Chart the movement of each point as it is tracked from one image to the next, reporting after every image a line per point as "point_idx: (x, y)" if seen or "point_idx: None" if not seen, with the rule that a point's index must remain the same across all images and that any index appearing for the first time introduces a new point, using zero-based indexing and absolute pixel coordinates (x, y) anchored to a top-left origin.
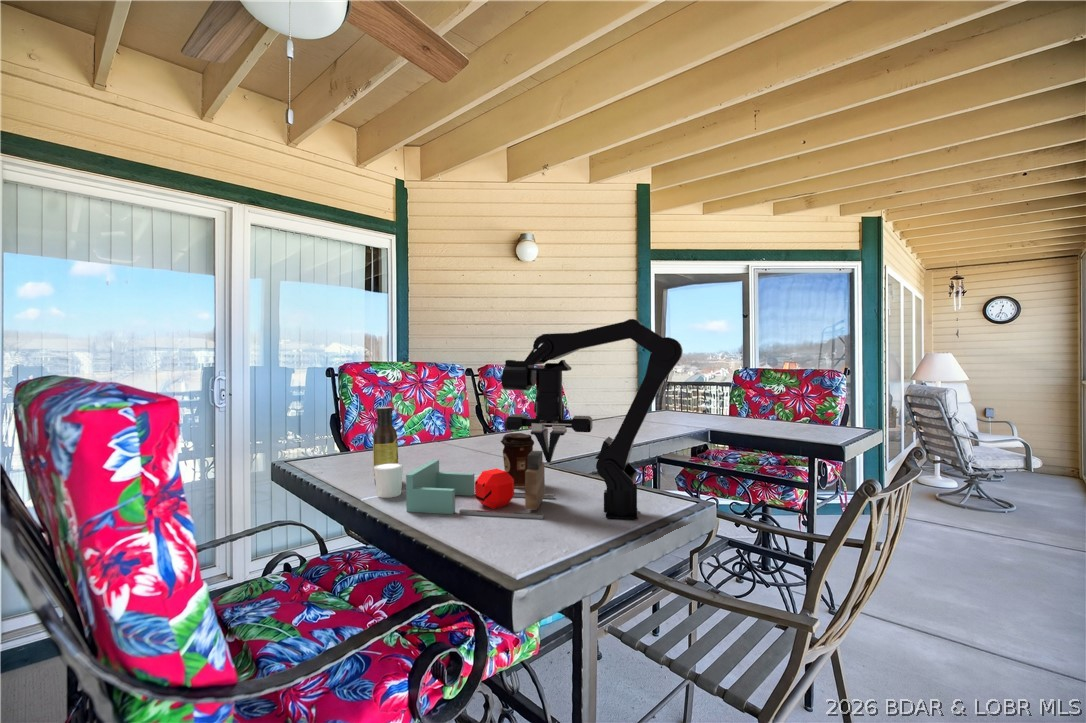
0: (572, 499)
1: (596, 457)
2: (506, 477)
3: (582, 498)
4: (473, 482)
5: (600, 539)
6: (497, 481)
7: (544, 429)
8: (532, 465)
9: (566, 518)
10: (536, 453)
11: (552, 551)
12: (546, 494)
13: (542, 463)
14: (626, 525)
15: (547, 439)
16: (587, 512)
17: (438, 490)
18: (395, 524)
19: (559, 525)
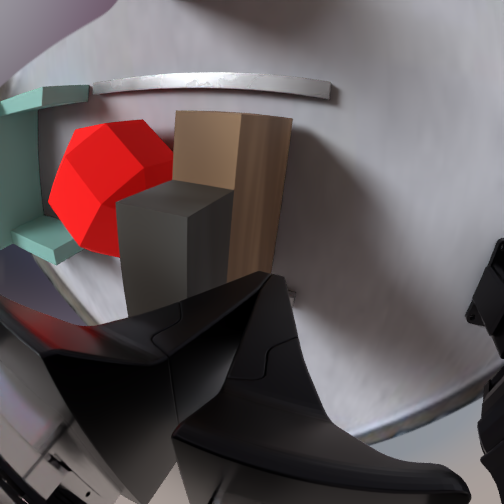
0: (404, 109)
1: (484, 461)
2: None
3: (441, 102)
4: (61, 94)
5: (400, 409)
6: (109, 251)
7: (83, 452)
8: None
9: (361, 304)
10: (163, 300)
11: None
12: (298, 85)
13: (231, 192)
14: (484, 355)
15: (179, 377)
16: (434, 261)
17: (39, 256)
18: (56, 282)
19: (334, 346)
